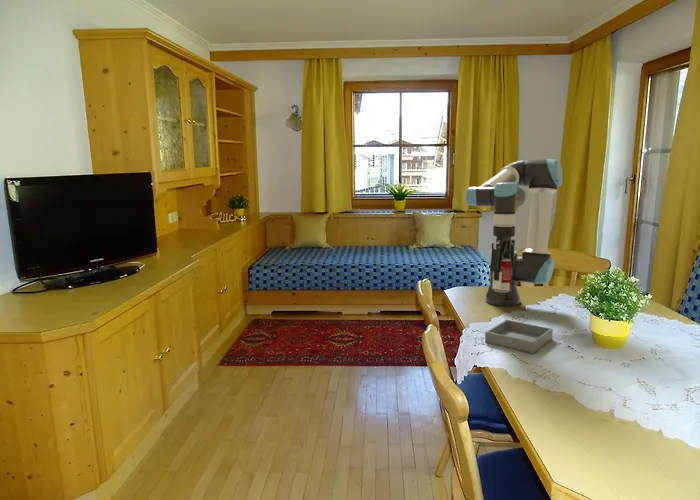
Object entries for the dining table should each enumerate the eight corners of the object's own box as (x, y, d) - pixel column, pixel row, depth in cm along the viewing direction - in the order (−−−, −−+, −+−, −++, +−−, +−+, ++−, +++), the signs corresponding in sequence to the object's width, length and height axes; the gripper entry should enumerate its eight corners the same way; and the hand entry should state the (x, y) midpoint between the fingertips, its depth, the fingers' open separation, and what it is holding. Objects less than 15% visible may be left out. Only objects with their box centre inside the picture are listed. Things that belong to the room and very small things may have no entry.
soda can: (511, 293, 177) (513, 261, 175) (492, 292, 178) (493, 260, 176) (510, 289, 183) (511, 257, 181) (491, 288, 185) (492, 257, 183)
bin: (506, 329, 187) (506, 319, 186) (552, 339, 175) (552, 328, 175) (485, 342, 174) (485, 331, 173) (533, 354, 163) (533, 342, 162)
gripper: (507, 222, 186) (504, 281, 190) (481, 227, 172) (479, 290, 176) (526, 223, 181) (523, 283, 185) (500, 228, 167) (498, 293, 171)
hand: (501, 287), depth 180 cm, fingers closed on soda can, 7 cm apart
